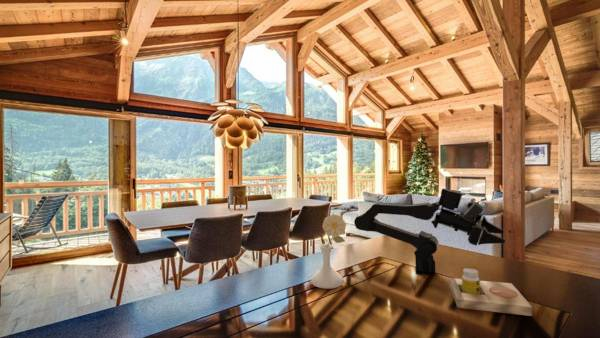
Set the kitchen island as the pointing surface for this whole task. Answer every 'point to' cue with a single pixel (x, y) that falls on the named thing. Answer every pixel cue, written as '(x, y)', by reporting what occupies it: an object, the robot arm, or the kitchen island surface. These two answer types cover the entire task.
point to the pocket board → (489, 298)
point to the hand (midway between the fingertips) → (504, 236)
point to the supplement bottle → (470, 281)
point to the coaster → (503, 292)
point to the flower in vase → (326, 274)
